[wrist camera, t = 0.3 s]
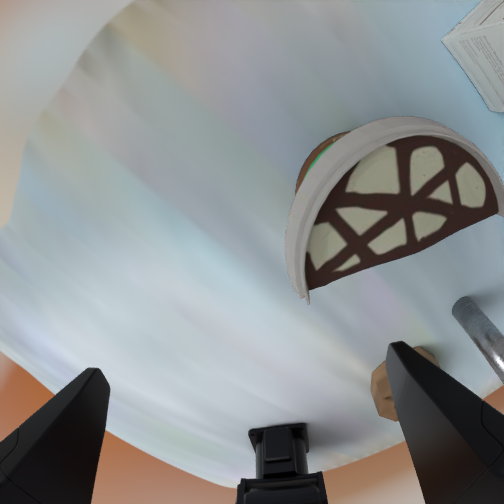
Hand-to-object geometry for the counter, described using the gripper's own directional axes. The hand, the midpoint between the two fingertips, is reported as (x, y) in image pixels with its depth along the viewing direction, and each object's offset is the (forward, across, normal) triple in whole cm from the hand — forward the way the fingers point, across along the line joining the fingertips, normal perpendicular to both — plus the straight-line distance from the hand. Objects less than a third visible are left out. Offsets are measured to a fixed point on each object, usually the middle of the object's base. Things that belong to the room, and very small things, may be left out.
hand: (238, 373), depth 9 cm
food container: (+15, -7, -2) cm, 17 cm away
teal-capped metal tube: (+14, -19, +12) cm, 27 cm away
